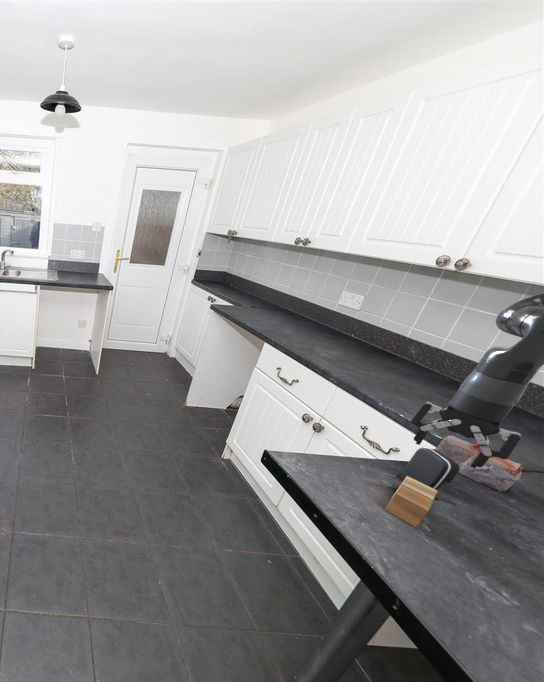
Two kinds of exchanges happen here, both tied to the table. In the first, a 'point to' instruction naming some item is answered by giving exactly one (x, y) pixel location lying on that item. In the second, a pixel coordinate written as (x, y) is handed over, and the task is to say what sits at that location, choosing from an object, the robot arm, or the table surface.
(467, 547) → the table surface
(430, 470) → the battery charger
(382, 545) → the table surface
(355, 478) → the table surface
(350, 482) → the table surface
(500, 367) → the robot arm
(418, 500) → the block
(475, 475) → the food item
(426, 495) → the block
